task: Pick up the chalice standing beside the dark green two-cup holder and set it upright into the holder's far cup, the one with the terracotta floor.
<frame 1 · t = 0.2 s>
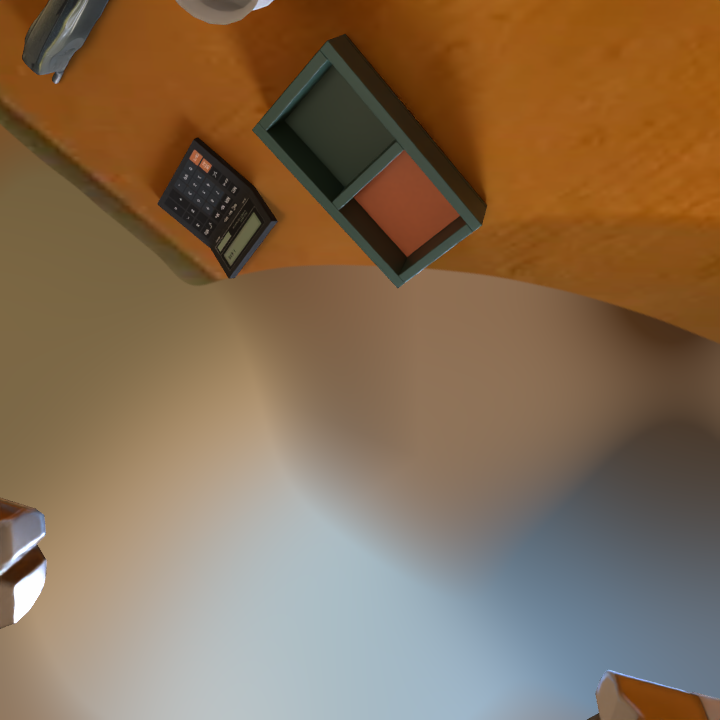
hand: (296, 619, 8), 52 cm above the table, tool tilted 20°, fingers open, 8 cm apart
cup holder: (379, 161, 56), on the table
stapler: (85, 18, 56), on the table
calculator: (222, 206, 64), on the table
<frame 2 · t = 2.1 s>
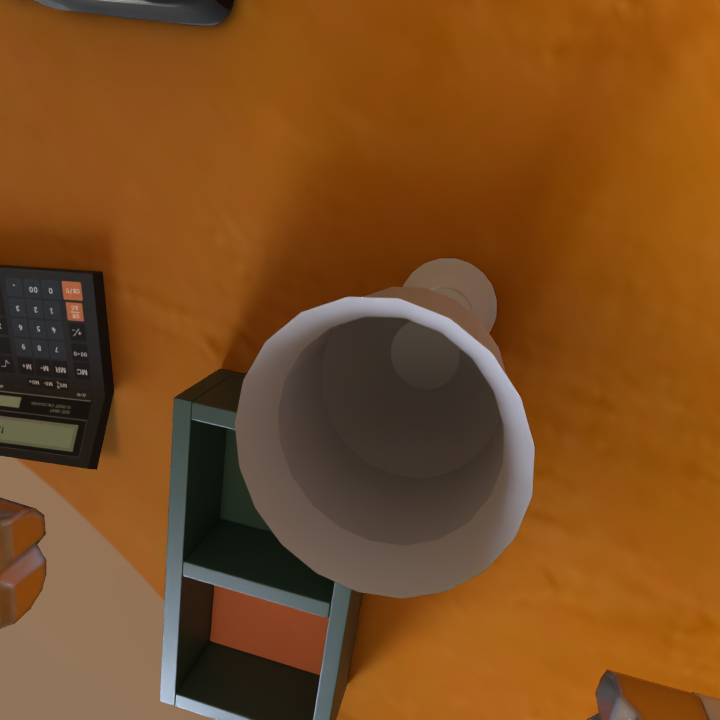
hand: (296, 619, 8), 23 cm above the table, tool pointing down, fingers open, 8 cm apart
chalice: (447, 307, 30), on the table
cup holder: (286, 536, 36), on the table
calculator: (47, 359, 37), on the table
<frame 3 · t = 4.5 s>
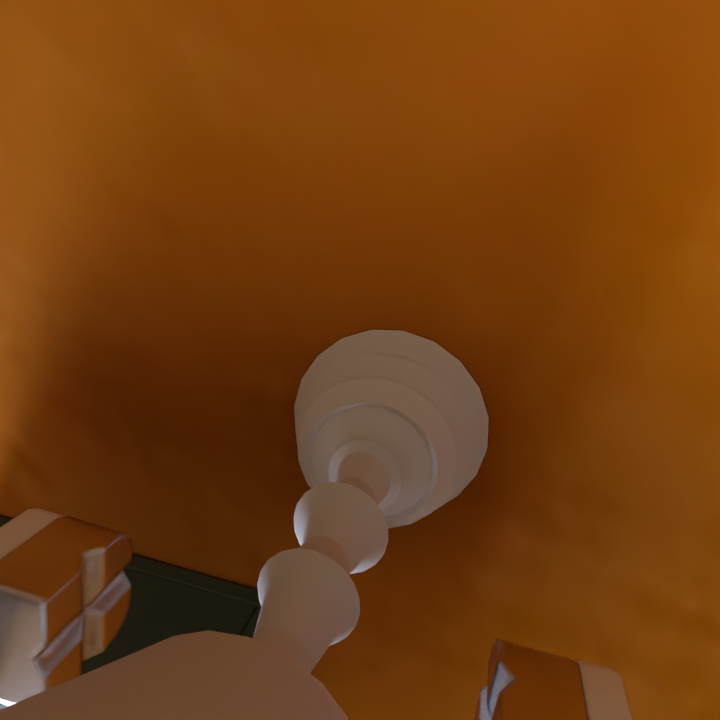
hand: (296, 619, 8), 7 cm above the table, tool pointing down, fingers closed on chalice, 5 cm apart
chalice: (389, 423, 15), on the table, touching gripper
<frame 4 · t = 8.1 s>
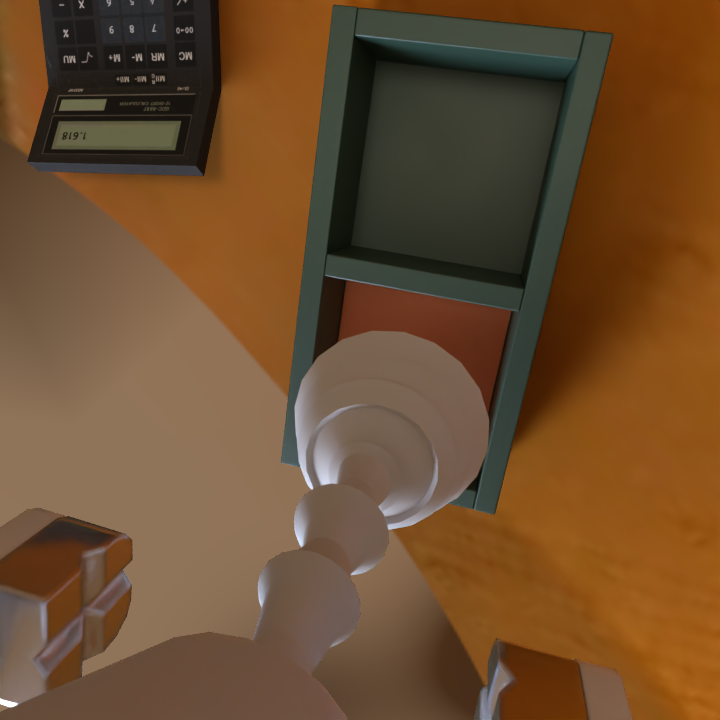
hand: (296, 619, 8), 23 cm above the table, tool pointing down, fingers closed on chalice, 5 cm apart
chalice: (389, 424, 15), point 16 cm above the table, touching gripper
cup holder: (433, 267, 29), on the table
calculator: (137, 57, 30), on the table
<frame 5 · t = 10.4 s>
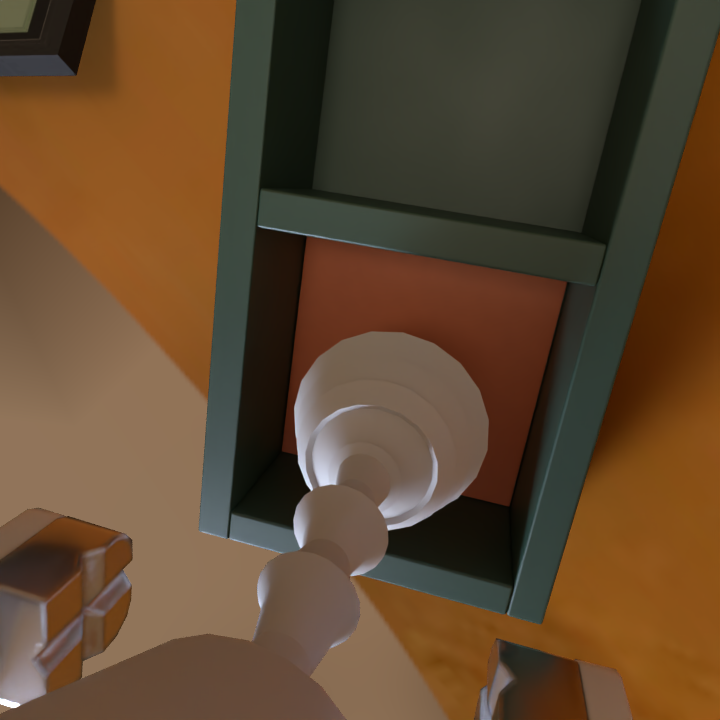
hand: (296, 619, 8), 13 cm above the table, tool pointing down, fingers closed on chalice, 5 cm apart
chalice: (389, 425, 15), point 6 cm above the table, touching gripper
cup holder: (440, 224, 19), on the table
when the fingers open (8 cm above the table, at t = 12.1 s): chalice stays where it is, resting on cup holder.
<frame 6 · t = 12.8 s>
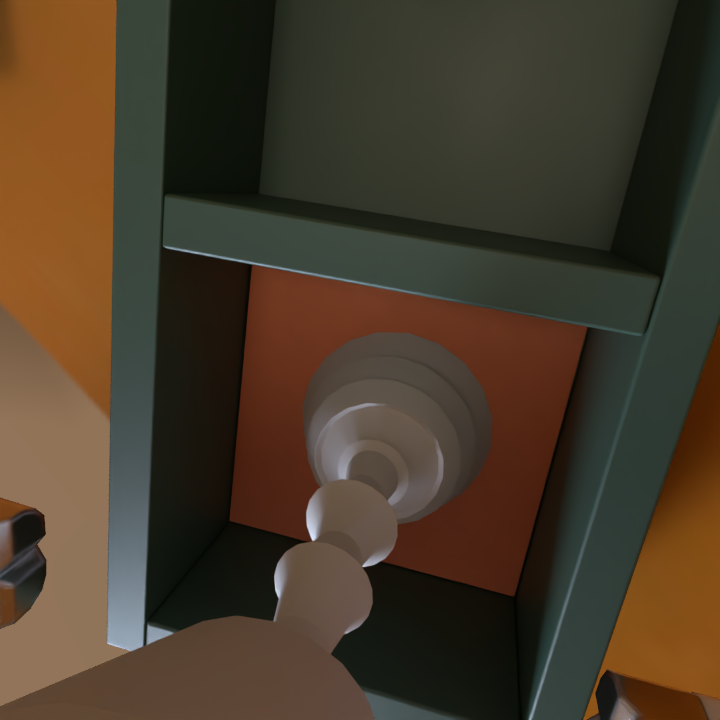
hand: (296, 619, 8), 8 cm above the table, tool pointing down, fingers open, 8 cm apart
chalice: (395, 423, 15), point 1 cm above the table, touching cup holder
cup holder: (424, 239, 15), on the table
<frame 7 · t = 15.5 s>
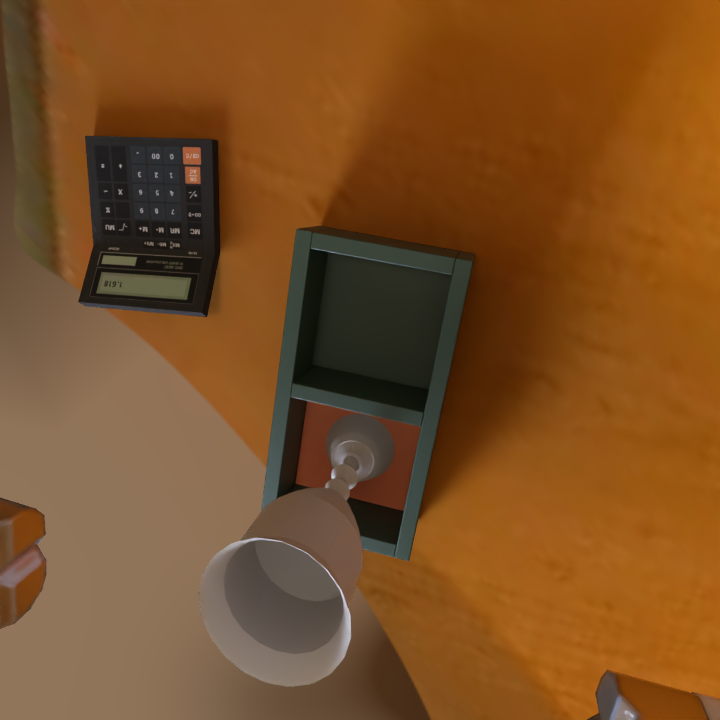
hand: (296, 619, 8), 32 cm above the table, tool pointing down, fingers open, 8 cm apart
chalice: (360, 446, 42), point 1 cm above the table, touching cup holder
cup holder: (370, 381, 41), on the table
calculator: (159, 225, 42), on the table
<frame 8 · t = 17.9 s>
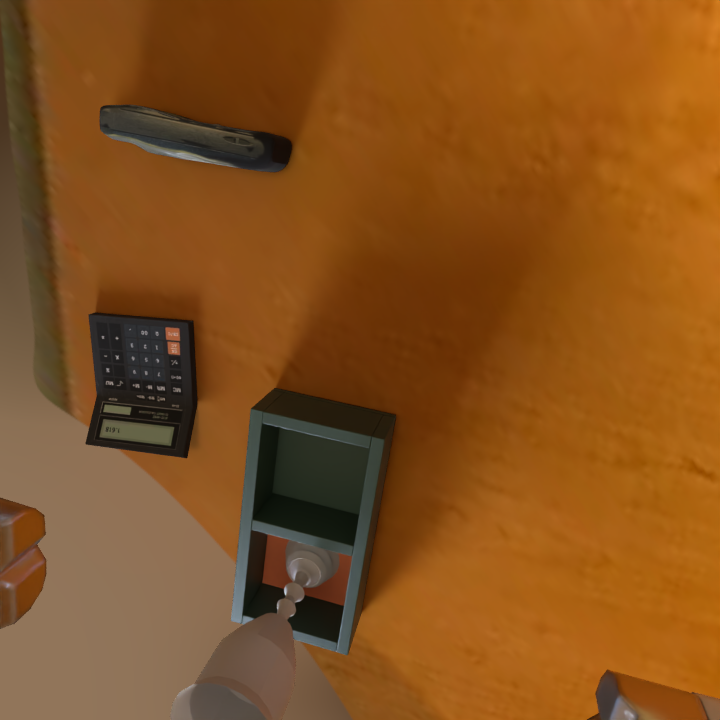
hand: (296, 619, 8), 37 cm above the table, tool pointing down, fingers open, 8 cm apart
chalice: (312, 556, 52), point 1 cm above the table, touching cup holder
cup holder: (319, 505, 51), on the table
stapler: (202, 140, 45), on the table
calculator: (149, 380, 52), on the table
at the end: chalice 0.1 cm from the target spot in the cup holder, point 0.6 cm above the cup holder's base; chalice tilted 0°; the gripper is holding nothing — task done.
